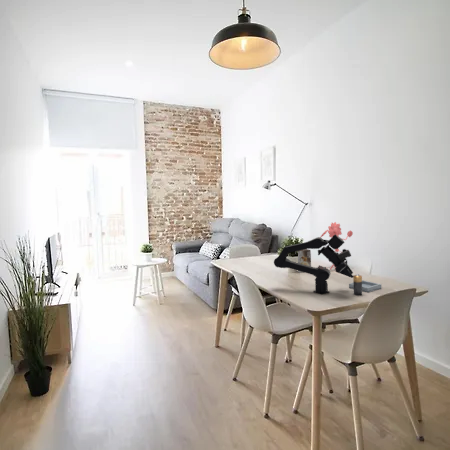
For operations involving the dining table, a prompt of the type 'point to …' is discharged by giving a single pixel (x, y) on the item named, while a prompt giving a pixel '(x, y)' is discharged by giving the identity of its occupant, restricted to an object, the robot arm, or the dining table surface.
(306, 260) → the coffee box
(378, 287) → the grey tray
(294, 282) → the dining table surface
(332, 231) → the pink flower sprig
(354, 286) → the big battery
